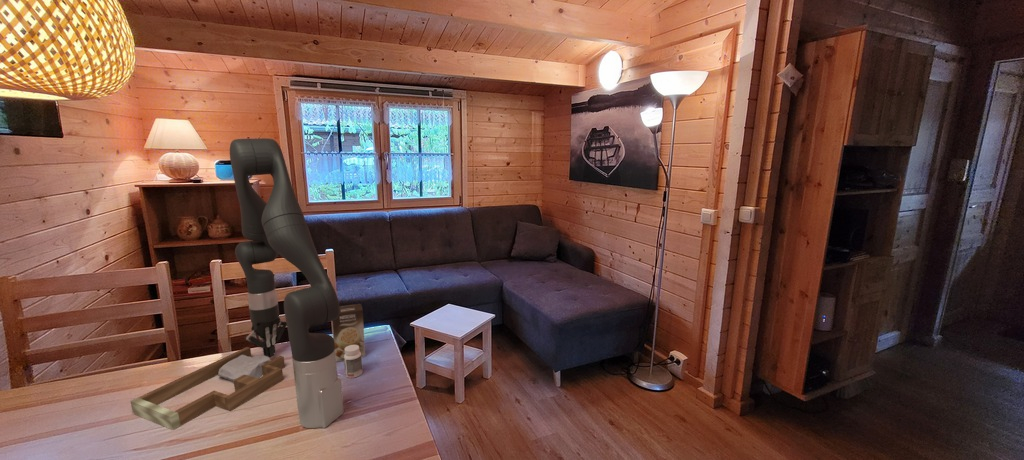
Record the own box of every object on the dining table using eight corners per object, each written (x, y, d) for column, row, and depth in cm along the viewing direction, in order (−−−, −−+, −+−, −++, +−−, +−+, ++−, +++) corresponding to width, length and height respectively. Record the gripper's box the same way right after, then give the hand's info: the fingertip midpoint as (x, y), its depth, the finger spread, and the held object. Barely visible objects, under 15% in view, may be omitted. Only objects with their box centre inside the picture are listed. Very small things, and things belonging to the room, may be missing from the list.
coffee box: (334, 363, 122) (330, 314, 119) (334, 353, 127) (330, 307, 124) (366, 356, 126) (362, 309, 122) (364, 347, 131) (361, 302, 128)
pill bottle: (366, 372, 117) (364, 346, 115) (352, 380, 113) (350, 353, 111) (356, 367, 119) (354, 342, 118) (342, 375, 115) (339, 348, 114)
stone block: (252, 390, 111) (276, 365, 120) (247, 377, 109) (271, 352, 118) (215, 388, 112) (241, 363, 122) (209, 375, 111) (236, 351, 120)
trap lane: (298, 370, 117) (297, 360, 116) (188, 436, 90) (185, 422, 90) (248, 357, 125) (246, 346, 124) (132, 413, 98) (130, 401, 97)
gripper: (251, 314, 112) (258, 369, 116) (291, 298, 124) (297, 348, 128) (233, 310, 115) (240, 364, 118) (274, 295, 127) (280, 344, 130)
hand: (270, 356), depth 123 cm, fingers closed
